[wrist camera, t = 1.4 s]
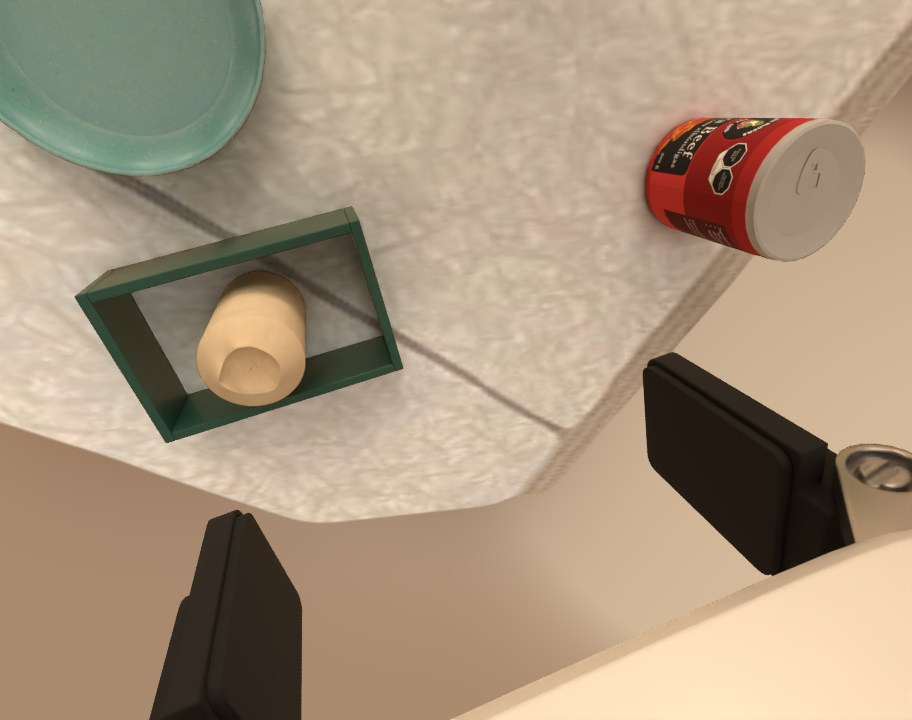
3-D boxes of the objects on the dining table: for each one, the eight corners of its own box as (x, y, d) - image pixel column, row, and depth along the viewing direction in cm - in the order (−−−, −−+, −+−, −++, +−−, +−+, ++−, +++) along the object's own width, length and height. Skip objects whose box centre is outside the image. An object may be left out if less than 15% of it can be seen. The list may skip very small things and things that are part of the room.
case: (106, 271, 31) (73, 296, 27) (352, 205, 33) (358, 219, 29) (183, 404, 36) (165, 443, 31) (392, 339, 38) (403, 369, 34)
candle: (233, 351, 35) (209, 429, 26) (210, 276, 33) (174, 335, 24) (312, 338, 36) (314, 408, 28) (296, 264, 34) (292, 316, 25)
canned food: (725, 100, 37) (872, 96, 27) (732, 204, 41) (862, 232, 31) (633, 141, 36) (750, 152, 27) (649, 242, 40) (756, 283, 31)
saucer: (192, -200, 23) (180, -234, 21) (308, 134, 31) (308, 136, 28) (-149, -139, 22) (-203, -169, 19) (59, 201, 29) (37, 209, 26)
